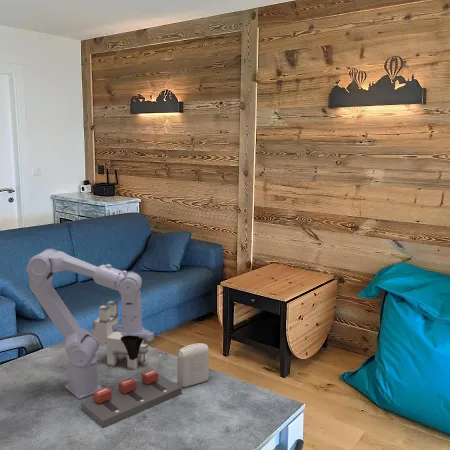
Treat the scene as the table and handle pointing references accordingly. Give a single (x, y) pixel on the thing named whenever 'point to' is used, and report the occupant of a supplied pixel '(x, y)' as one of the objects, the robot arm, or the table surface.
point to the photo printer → (193, 364)
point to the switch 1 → (102, 395)
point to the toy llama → (115, 337)
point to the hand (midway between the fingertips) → (133, 358)
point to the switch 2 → (127, 385)
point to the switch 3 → (149, 376)
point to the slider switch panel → (131, 401)
